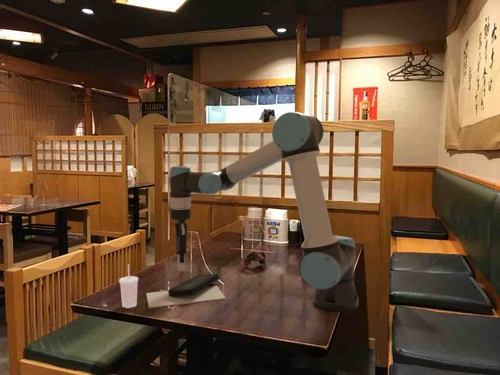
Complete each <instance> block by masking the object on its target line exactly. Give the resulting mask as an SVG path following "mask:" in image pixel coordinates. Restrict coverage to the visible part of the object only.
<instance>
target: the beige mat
mask: <svg viewBox="0 0 500 375" xmlns="http://www.w3.org/2000/svg"><path fill="white" fill-rule="evenodd" d="M145 294H146V295H145V296H146V300H147V305H148V308H149V309H153V308H162V307H170V306H178V305H187V304H194V303H203V302H204V303H205V302H211V301H212V302H213V301H221V300H222V301H223V300H226V297H225V294H224V293H223V292H222V291H221V289H220V288H219V286H217V285H208V286H207V287H205V288H203V289H202V290H200V291H198V292H196V293H195V294H193V295H185V296H169V293H168V290H164V291H163V290H161V291H154V292H147V293H145Z"/></svg>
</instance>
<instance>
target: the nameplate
mask: <svg viewBox="0 0 500 375" xmlns="http://www.w3.org/2000/svg"><path fill="white" fill-rule="evenodd" d="M218 280H220V276H219V273H208V274H197V275H195V276H193V277H191V278H189V279H187V280H185V281H183V282H182V283H179V284H178V285H175V286H174V287H171V288H170V289H168V290H167V291H168V293H169V296H185V295H193V294H195V293H196V292H198V291H200V290H202V289H203V288H205V287H208V286H211V285H212V284H213V283H215V282H217V281H218Z"/></svg>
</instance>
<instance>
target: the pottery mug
mask: <svg viewBox="0 0 500 375" xmlns="http://www.w3.org/2000/svg"><path fill="white" fill-rule="evenodd" d="M242 261H243V265H244V266H246V267H249V266H252V262H256V263H257V262H258V263H259V265H261V268H262V270H263V271H265V270H266V269H267V267H268V266H267V263H266V253H265V252H264V251H259V252H258V251H257V250H255V251H252V252H251V253H249V254H247V255H245V257H244V258H243V259H242Z"/></svg>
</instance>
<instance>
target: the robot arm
mask: <svg viewBox="0 0 500 375" xmlns="http://www.w3.org/2000/svg"><path fill="white" fill-rule="evenodd" d="M271 132H272V133H271V135H272V136H271V137H272V141H270V142H268V143H267V144H265V145H262V146H260V147H259V148H258V149H256V150H254V151H252V152H250V153H248V154H246V155H245V156H243V157H241V158H240V159H238V160H236V161H234V162H233V163H230V164H229V165H227V166H226V167H224V168H221V169H220V170H217V171H215V170H214V171H207V172H203V171H202V172H200V171H199V172H192V170H191V167H190V166H187V165H183V166H182V165H181V166H180V165H179V166H178V165H177V166H171V167H170V169H169V177H168V178H169V191H170V192H169V193H170V194H169V208H171V209H170V212H169V213H170V214H169V215H170V219H171V220H172V221H173V220H174V221H176V223H174V227H175V239H176V243H175V244H176V248H175V249H176V256H177V272H184V271H186V254H187V233H188V224H187V223H186V221H187V220H190V219H191V218H192V209H191V207H192V206H191V205H192V204H191V203H192V201H193V198H191V196H192V194H202V195H217V194H218V193H219V192H220V191H229V190H231V189H233V188H234V187H235V186H236V185H237V184H238V183H240V182H243V181H244V180H247V179H248V178H250V177H252V176H254V175H256V174H258V173H260V172H262V171H263V170H265V169H268V168H270V167H272V166H274V165H275V164H278V163H279V162H281V161H284V162H285V163H287V164H288V166H289V171H290V176H291V180H292V181H291V182H292V185H293V190H294V195H295V199H296V200H295V201H296V204H297V209H298V213H299V219H300V222H301V223H300V224H301V229H302V232H303V237H304V241H303V242H302V243H301V245H300V246H301V247H300V248H301V251H302V257H303V259H302V260H301V264H300V273H301V276H302V278H303V279H304V281H305V282H306V283H307V284H308V285H310V286H311V287H312V288H315V289H314V292H313V296H312V297H313V298H312V299H313V300H312V302H313V304H314V303H315V304H316V305H315V304H314V305H315V306H316V307H318V306H319V308H320V307H321V308H320V309H323V308H324V309H323V310H326V309H328V310H327V311H331V310H335V311H334V312H348V311H353V310H356V309H357V308H359V295H358V292H357V289H356V286H355V282H354V280H355V255H356V254H355V253H356V252H355V251H356V241H355V240H354V238H352V237H348V236H341V235H334V234H333V232H332V230H333V229H332V226H331V221H330V216H329V212H328V207H327V203H326V198H325V194H324V193H325V192H324V188H323V183H322V180H321V179H322V178H321V175H320V170H319V165H318V161H317V157H318V156H319V154H320V153H321V150H320V146H319V145H320V143H321V142H322V140H323V138H324V134H325V133H324V132H325V131H324V126H323V124H322V122H321V121H320V119H318V117H316V116H314V115H313V114H308V113H307V114H306V113H303V112H300V111H288V112H285V113H283V114H282V115H280V116H279V117H278V118H277V119H276V120H275V122H274V123H273V126H272V131H271Z"/></svg>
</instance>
